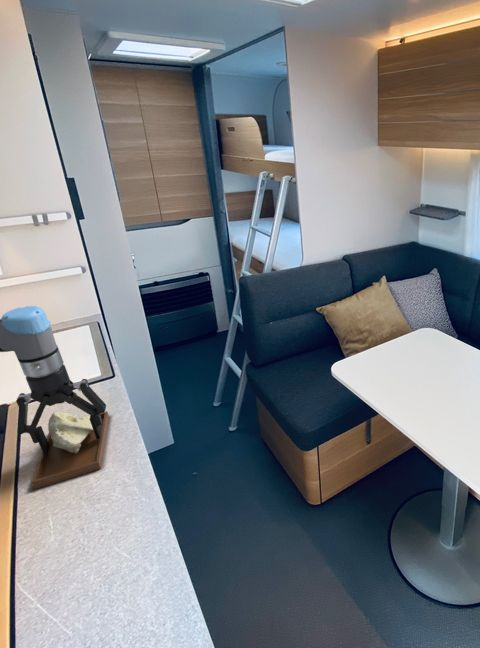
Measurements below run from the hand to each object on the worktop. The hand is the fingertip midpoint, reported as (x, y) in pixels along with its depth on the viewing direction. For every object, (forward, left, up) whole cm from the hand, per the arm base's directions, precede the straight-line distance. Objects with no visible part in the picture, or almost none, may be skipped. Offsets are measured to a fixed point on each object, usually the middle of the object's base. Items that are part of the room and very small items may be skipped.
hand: (73, 442), depth 105 cm
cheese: (+1, 0, -2) cm, 2 cm away
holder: (0, 0, -2) cm, 2 cm away
